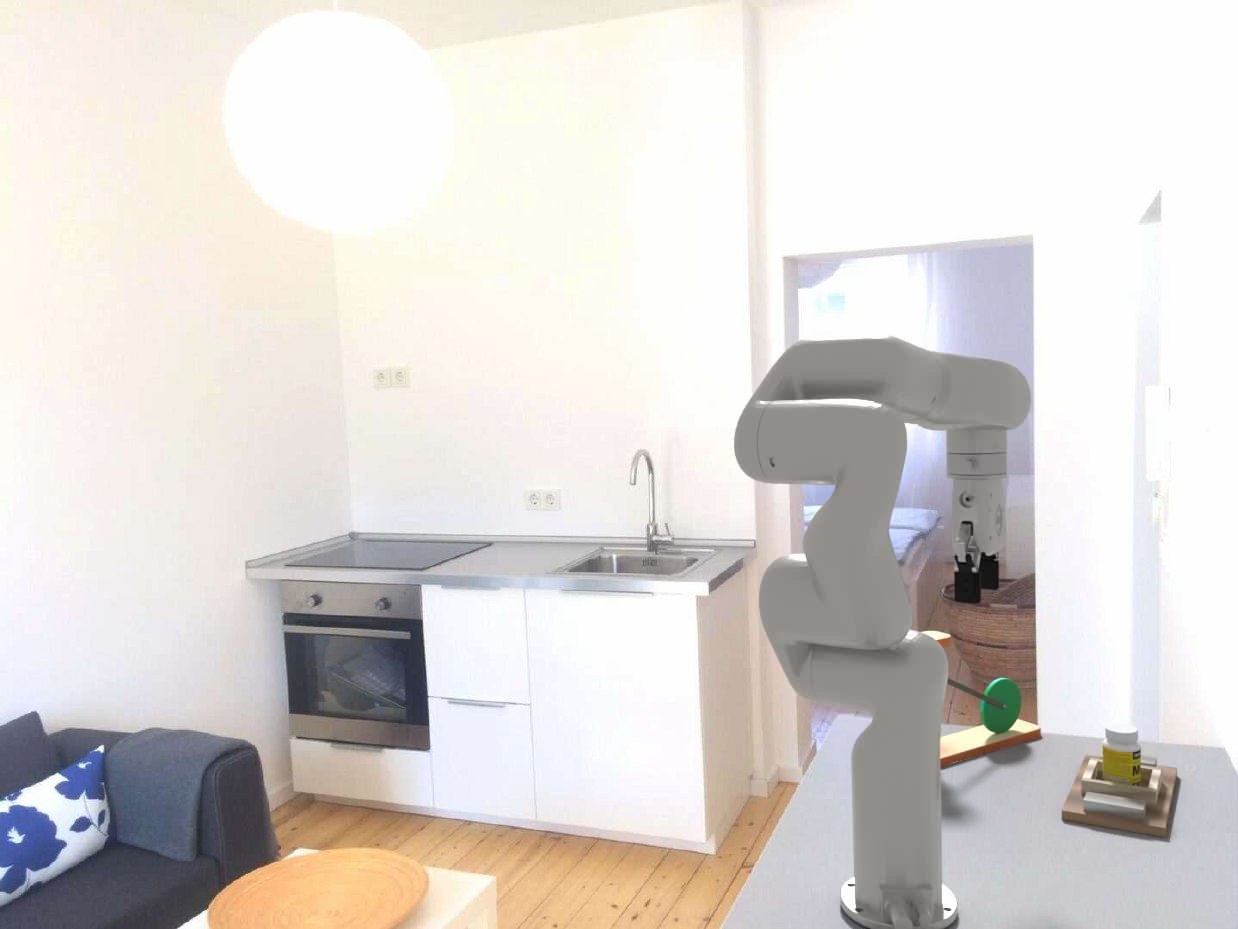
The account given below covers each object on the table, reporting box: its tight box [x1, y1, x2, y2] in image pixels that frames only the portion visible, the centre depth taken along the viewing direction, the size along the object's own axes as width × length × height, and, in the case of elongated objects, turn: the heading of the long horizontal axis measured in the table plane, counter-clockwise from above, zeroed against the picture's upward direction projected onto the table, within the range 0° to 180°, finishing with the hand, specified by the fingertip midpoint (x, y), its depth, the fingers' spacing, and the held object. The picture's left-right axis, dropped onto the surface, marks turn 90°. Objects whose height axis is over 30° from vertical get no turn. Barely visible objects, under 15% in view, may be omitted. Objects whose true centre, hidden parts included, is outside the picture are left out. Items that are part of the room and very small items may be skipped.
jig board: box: [1061, 751, 1178, 838], centre depth 142 cm, size 22×12×3 cm, turn 148°
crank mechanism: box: [921, 630, 1042, 768], centre depth 162 cm, size 25×7×19 cm, turn 119°
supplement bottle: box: [1102, 723, 1142, 786], centre depth 141 cm, size 5×5×8 cm
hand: (977, 595), depth 136 cm, fingers open, 9 cm apart
